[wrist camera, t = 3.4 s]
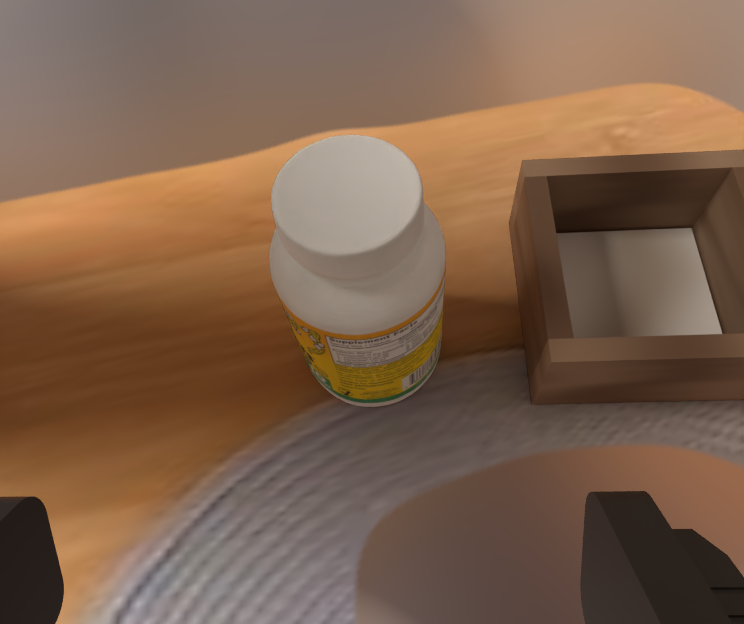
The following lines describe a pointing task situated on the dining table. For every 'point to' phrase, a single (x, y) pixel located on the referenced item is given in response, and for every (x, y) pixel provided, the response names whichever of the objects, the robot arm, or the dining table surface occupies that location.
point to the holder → (631, 277)
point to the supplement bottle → (359, 268)
